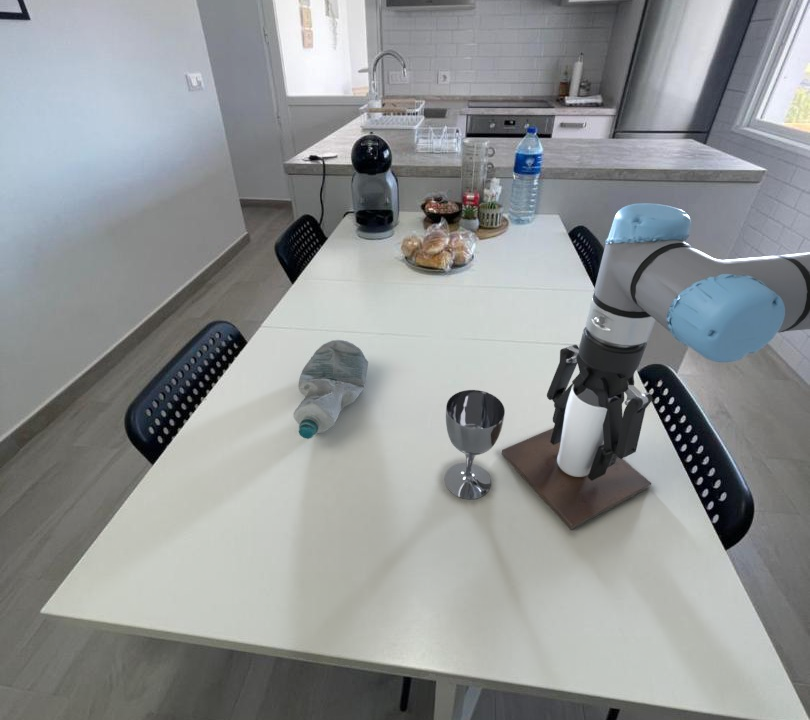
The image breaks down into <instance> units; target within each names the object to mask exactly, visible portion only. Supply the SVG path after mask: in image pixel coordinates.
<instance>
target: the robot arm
mask: <svg viewBox="0 0 810 720" xmlns="http://www.w3.org/2000/svg"><path fill="white" fill-rule="evenodd" d="M691 225H692V220H691V218H690V216H689V214H688V213H687V212H686V211H684V210H683V209H680V208H677V207H674V206H670V205H666V204H660V203H645V202H644V203H633V204H628V205H626V206H623V207H621V208H620V209H618V211H617V212H616V214H615V216H614V218H613V221H612V224H611V227H610V230H609V234H608V236H607V238H606V239H605V241H604V244H605V245H604V249H603V253H602V257H601V261H600V265H599V269H598V273H597V277H596V281H595V286H594V288H593V289H594V290H593V294H592V298H591V300H590V301H591V302H590V305H589V309H588V313H587V316H586V320H585V327H584V328H583V331H582V335H581V339H580V341H579V345H577V344H572V345H569V346H565V347H564V348H561V349H560V350H559V363H558V365H557V367H556V370H555V372H554V375H553V377H552V380H551V382H550V385H549V387H548V390H547V393H546V398H547V399H548V400H549V401H552V402H553V406H554V411H553V416H552V423H554V425H553V428H554V429H553V433H552V437H551V441H550V442H551V443H552V444H553V445H554V444H557V443H559V442H561V435H562V428H563V421H564V414H565V409H566V404H567V400H568V397H569V394H570V391H571V388H572V385H573V384H574V385H575V388H574V393H575V395H576V396H577V395H579V394H580V393H582V392H583V391H585V390H586V389H589V390H592V391H593V392H594V393H595V394H596V395H597V396H598V401H599V406H600V407H604V408H606V409H607V412H606V416H605V420H604V423H603V436H604V444H603V445H601V446H599V447H598V449H597V452H596V455H595V458H594V461H593V464H592V467H591V469H590V472H589V475H588V478H589V479H590V480H591V481H592V480H594V479H596V478H598V477H600V476H602V475H604V474H605V473H606V470H607V468H608V467H610V466H612V465H613V464H615V462H616V459H617V457H618V458H620V459H623V460H624V459H625V458H627V457H628V456H630V455H632V454H634V453H635V454H636V452H637V448H638V445H639V440H640V436H641V432H642V426H643V423H644V417H645V412H646V409H647V408H648V407H649V406H650V404H651V403H652V402H653V395H652V394H651V393H649V392H645V393H642V392H641V391H640V390H639V389H638V388H637V387H636V386H635V373H636V371H637V369H638V368H639V366H640V364H641V361H642V359H643V356H644V352H645V350H646V347H647V345H648V343H647V341H649V340H650V337H651V336H652V335H651V334H652V332H653V329H654V326H655V324H656V322H657V323H658V324H660V326H662V327H663V328H664V329H665V330H666V331H668V332H669V333H670V334H671V335H672V337H673V338H675V340H676V341H677V342H679V343H681V344H682V345H684V346H687V347H688V348H690V349H691V350H693V351H695V352H696V353H697V354H699V355H700V356H702V357H703V358H704V359H707V360H709V361H712V362H714V363H715V362H716V363H733V362H738V361H740V360H743V358H745V356H746V355H748V354H752V355H753V354H755V353H757V352H758V351H760V350H761V349H763V348H764V347H765V346H767V344H769V343H770V342H771V341H772V340H773V339H774V338H775V336H776V335H777V334H779V333H785V332H792V331H793V332H794V331H805V330H810V251H809V252H801V253H791V254H781V255H779V254H778V255H765V256H754V257H744V258H743V257H742V258H731V259H718V258H714V257H712V256H710V255H708V254H706V253H705V252H702V251H700V250H699V249H697V248H695V247H693V246H692V245H690V244H689V243H688V242H686V241H687V239H688V238H689V237H690V234H689V233H690V228H691ZM576 367H578V371H579V372H578V374H577V375H576V376H575V377H574V379H573V380H572V381H571V379H572V377H573V375H574V372H575V370H576ZM570 382H571V384H570V385H569V383H570ZM625 395H626V399H625ZM623 404H624V405H625V408H624V410H623Z"/></svg>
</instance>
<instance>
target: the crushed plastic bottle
mask: <svg viewBox="0 0 810 720" xmlns="http://www.w3.org/2000/svg"><path fill="white" fill-rule="evenodd" d="M368 367H369V361H368V360H367V358H366V356H365V354H364V352H363V351H362V349H361V348H360V347H358V346H357V345H356V344H354V343H352V342H350V341H348V340H344V339H334V340H332V339H331V340H330V341H327V342H325V343H323V344H322V345H321V346H319V348H317V350H315V351H314V353H313V354H312V356H311V357H310V359H309V360H308V361H307V363H305V365H304V367H303V368H302V370H301V372H300V375H299V378H298V391H299V393H300V394H301V396H303V400H302V401H301V402H300V403H299V404H298V406H297V407H296V408H295V410H294V412H293V413H292V417H293V419H294V421H295V422H296V423H297V424H298V434H299V436H300V437H301V438H303V439H312V438H313V437H314V436H315V435H317V434H320V433H325V432H326V431H328V430H329V429H331V427H333V426H334V425H335V423H336V421H337V420H338V418H339V416H340V413H341V411H343V409H344V408H346V407H347V406H349V405H351V404H353V403H354V402H355V401H356V399H357V398H358V397H359V395H360V394H361V393H362V391H363V390H364V389H365V387H366V380H367V372H368Z"/></svg>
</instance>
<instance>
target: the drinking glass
mask: <svg viewBox="0 0 810 720" xmlns="http://www.w3.org/2000/svg"><path fill="white" fill-rule="evenodd" d="M574 388H575V385H574V384H573V385H572V388H571V391H570V394H569V397H568V400H567V404H566V409H565V414H564V421H563V428H562V435H561V442H560V448H559V453H558V456H557V463H558V466H559V467H560V469H561V470H562V471H563V472H565V473H566V474H568V475H570V476H574V477H584V476H586V475H588V474H589V472H590V469H591V467H592V464H593V461H594V458H595V455H596V452H597V449H598V447H599V446H601V445H603V444H604V436H603V423H604V420H605V416H606V412H607V409H606V408H604V407H600V406H599V401H598V396H597V395H596V394H595V393H594V392H593V391H592V390H589V389H586V390H585V391H583V392H582V393H580V394H579V395H577V396H576V395H575V393H574Z"/></svg>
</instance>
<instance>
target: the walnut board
mask: <svg viewBox="0 0 810 720" xmlns="http://www.w3.org/2000/svg"><path fill="white" fill-rule="evenodd" d="M553 429H554V427H552V428H550V429H547V430H545V431H543V432H541V433H538V434H536V435H534V436H531V437H528V438H527V439H524V440H522V441H520V442H518V443H517V442H516V443H515V444H512V445H510V446H508V447H506V448H503V449H501V455H502V456H503V457H504V459H505V460H506V461H507V463H509V464H510V465H511V466H512V467H513V468H514V470H515V471H516V472H517V473H518V474H519V476H521V477H522V478H523V479H524V481H526V482H527V484H528V485H529V486H530V487H531V488H532V490H534V491H535V492H536V494H538V496H539V497H540V498H541V499H542V500H543V501H544V502H545V504H547V506H548V507H549V508H550V509H551V510H552V511H553V512H554V514H556V516H558V517H559V518H560V520H561V521H562V522H563V523H564V524H565V525H566V526H567V527H568V529H570V530H571V531H572V530H574V529H576V528H578V527H579V526H582V525H584V524H585V523H587V522H589V521H591V520H592V519H594V518H596V517H597V516H600V515H602V514H603V513H606V512H607V511H609V510H611V509H613V508H614V507H616V506H618V505H620V504H622V503H623V502H625V501H627V500H629V499H631V498H632V497H635V496H636V495H639V494H640V493H643V492H644V491H646V490H648V489H649V488H651V486H652V482H651V481H650V480H648V478H646V477H645V476H644V475H643V474H642V473H641V472H639V471H638V470H637V469H635V468H634V467H633V466H632V465H631V464H629V462H627V461H626V460H625V459H624V458H623V459H620V458H618V457H617V459H616V462H615V464H613V465H612V466H610V467H608V468H607V470H606V473H605V474H604V475H602V476H600V477H598V478H596V479H594V480H592V481H591V480H590V479H589V478H588V475H589V474H588V475H586V476H584V477H574V476H570V475H568V474H566V473H565V472H563V471H562V470H561V469H560V467H559V466H558V463H557V456H558V453H559V448H560V442H559V443H557V444H554V445H553V444H552V443H551V442H550V441H551V437H552V433H553Z"/></svg>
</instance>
